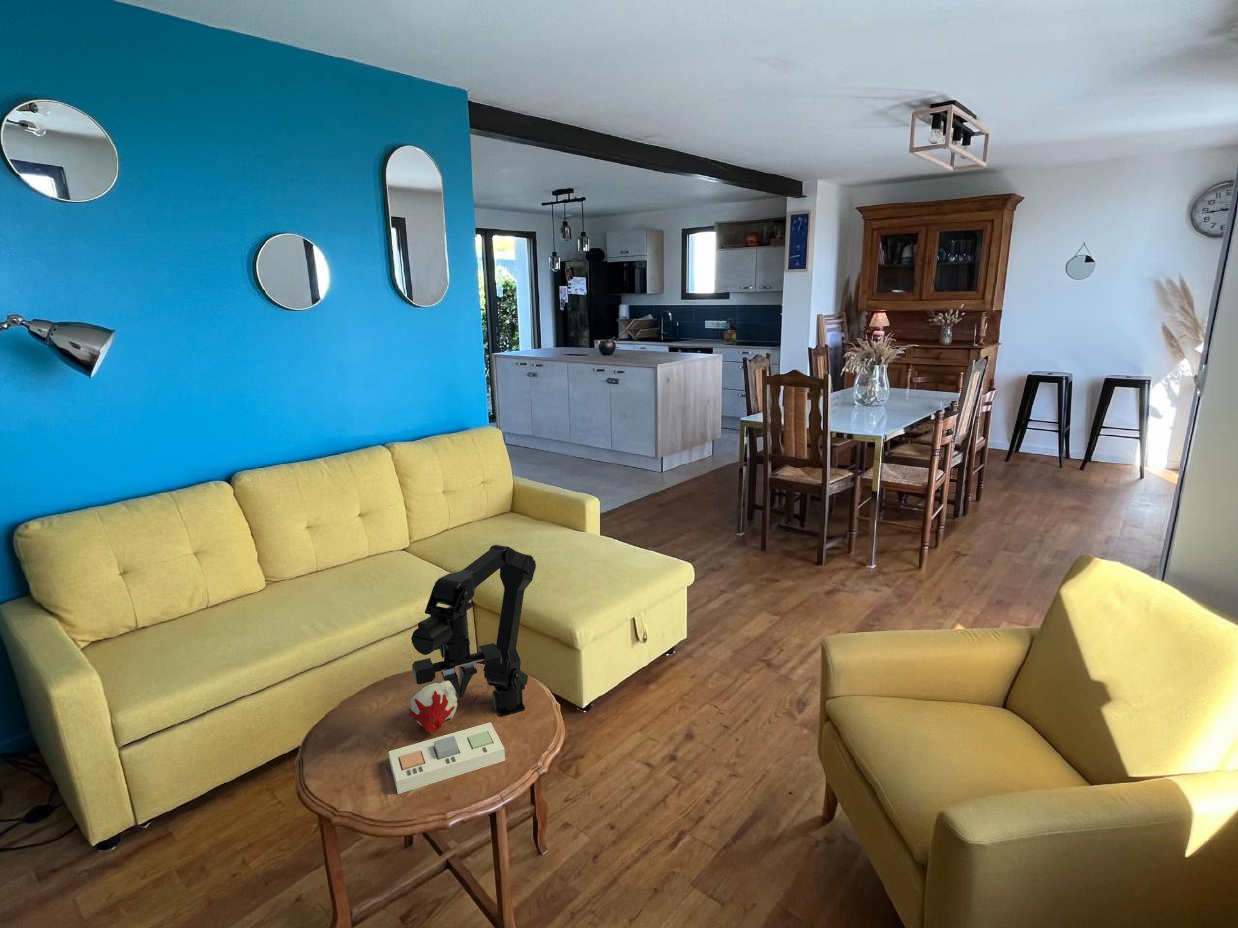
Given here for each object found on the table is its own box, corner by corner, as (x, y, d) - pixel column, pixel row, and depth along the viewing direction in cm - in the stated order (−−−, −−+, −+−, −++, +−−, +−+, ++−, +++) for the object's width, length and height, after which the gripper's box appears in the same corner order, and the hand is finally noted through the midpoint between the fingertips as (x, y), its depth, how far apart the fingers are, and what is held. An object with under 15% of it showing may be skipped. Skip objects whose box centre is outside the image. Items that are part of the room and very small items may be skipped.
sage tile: (487, 739, 158) (486, 730, 157) (492, 750, 154) (492, 741, 153) (468, 744, 156) (467, 736, 155) (473, 756, 152) (472, 747, 151)
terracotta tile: (420, 758, 151) (420, 750, 151) (424, 770, 147) (423, 761, 147) (400, 765, 149) (399, 756, 149) (403, 777, 145) (402, 768, 145)
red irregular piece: (456, 699, 175) (461, 740, 161) (410, 706, 172) (411, 749, 158) (454, 669, 172) (458, 709, 158) (407, 677, 169) (407, 717, 155)
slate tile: (454, 744, 154) (453, 735, 154) (459, 755, 150) (458, 746, 150) (434, 749, 152) (433, 741, 152) (438, 761, 148) (438, 752, 148)
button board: (491, 733, 161) (490, 721, 161) (505, 760, 152) (504, 747, 151) (389, 763, 152) (388, 750, 151) (397, 793, 142) (396, 780, 141)
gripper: (486, 610, 161) (491, 670, 164) (404, 627, 153) (411, 690, 156) (500, 629, 151) (504, 693, 154) (413, 649, 143) (420, 715, 147)
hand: (460, 697), depth 153 cm, fingers closed
